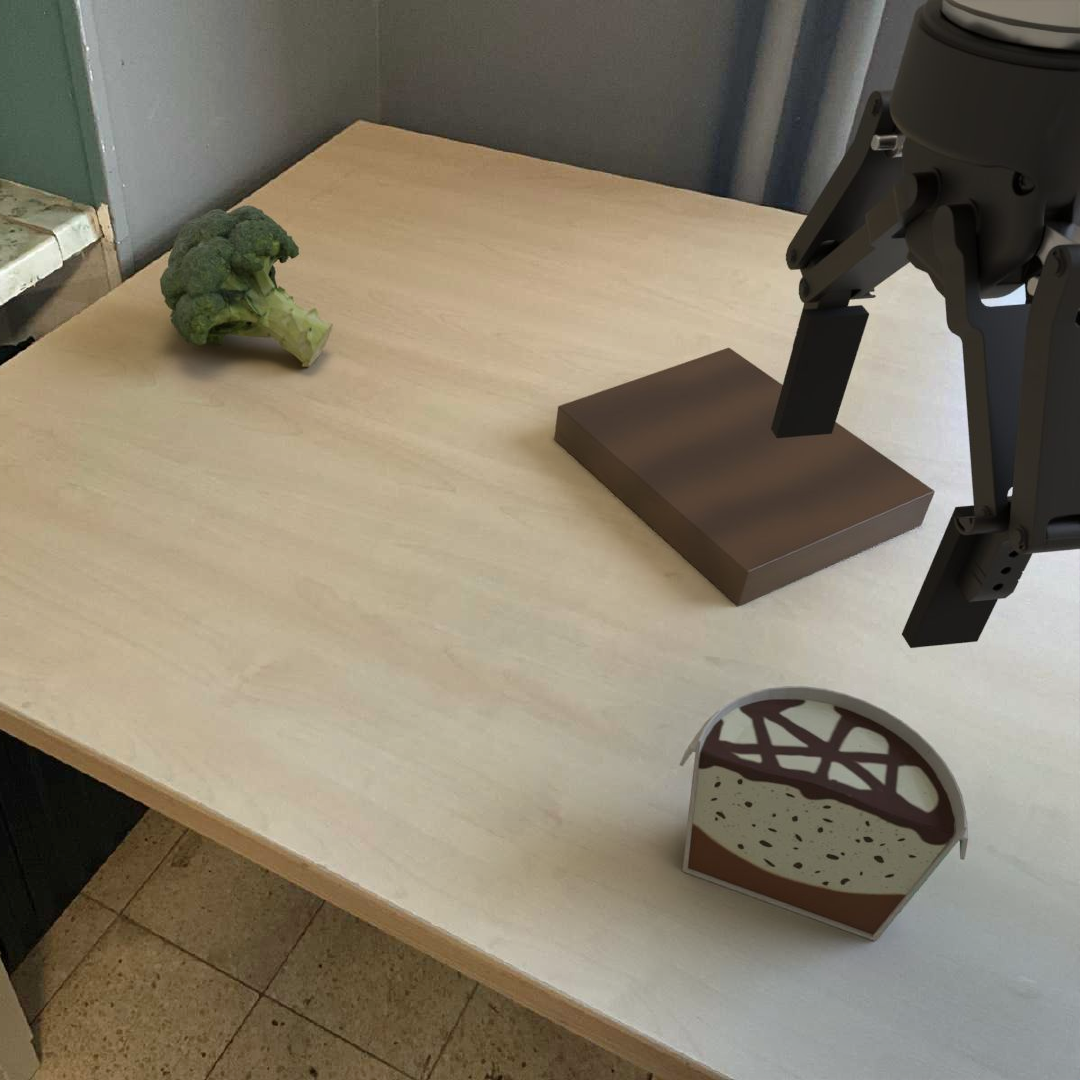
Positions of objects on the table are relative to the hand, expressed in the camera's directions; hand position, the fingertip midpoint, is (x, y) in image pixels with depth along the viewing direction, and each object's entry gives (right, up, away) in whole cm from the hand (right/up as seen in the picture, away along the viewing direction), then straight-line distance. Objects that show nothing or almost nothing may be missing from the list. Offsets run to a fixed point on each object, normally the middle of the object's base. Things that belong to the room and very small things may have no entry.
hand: (862, 525), depth 50 cm
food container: (0, -17, +9) cm, 19 cm away
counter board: (+4, +4, +32) cm, 32 cm away
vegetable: (-31, +16, +46) cm, 58 cm away
